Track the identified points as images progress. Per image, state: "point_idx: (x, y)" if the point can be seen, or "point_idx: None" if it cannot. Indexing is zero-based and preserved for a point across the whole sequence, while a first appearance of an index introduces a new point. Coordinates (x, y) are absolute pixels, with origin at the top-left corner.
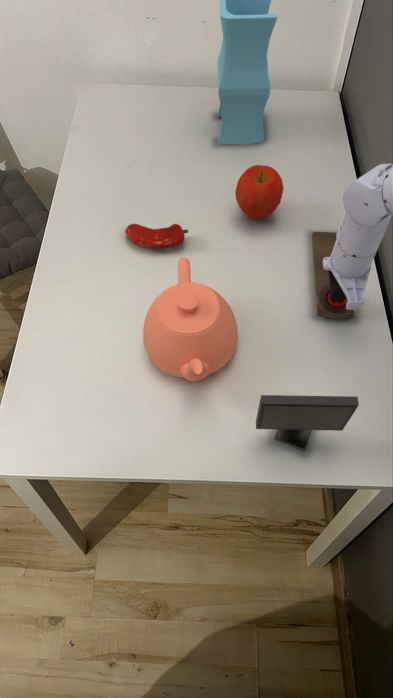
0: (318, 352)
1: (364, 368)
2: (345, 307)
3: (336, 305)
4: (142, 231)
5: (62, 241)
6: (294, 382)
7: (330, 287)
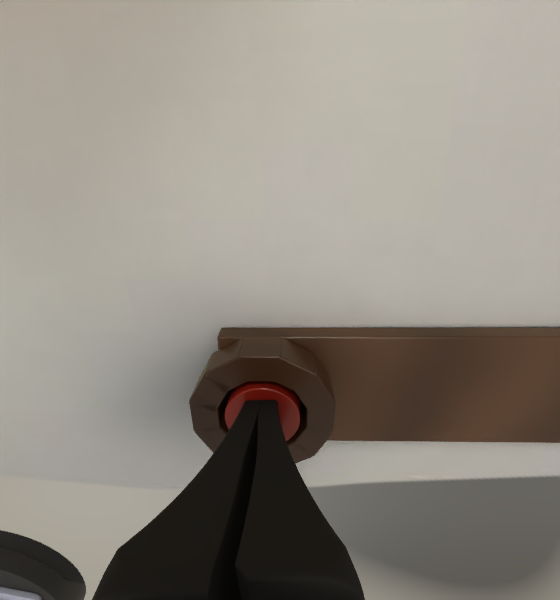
0: (71, 325)
1: (62, 438)
2: (222, 439)
3: (226, 414)
4: None
5: None
6: None
7: (276, 426)
